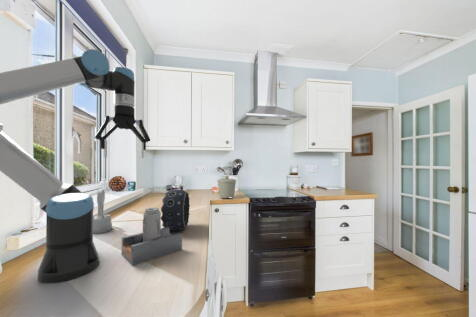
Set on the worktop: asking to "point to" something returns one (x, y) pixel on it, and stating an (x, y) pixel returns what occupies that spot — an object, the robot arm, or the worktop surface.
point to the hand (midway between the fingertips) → (124, 157)
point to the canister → (226, 187)
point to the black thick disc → (175, 210)
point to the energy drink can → (151, 224)
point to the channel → (150, 246)
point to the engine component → (101, 215)
